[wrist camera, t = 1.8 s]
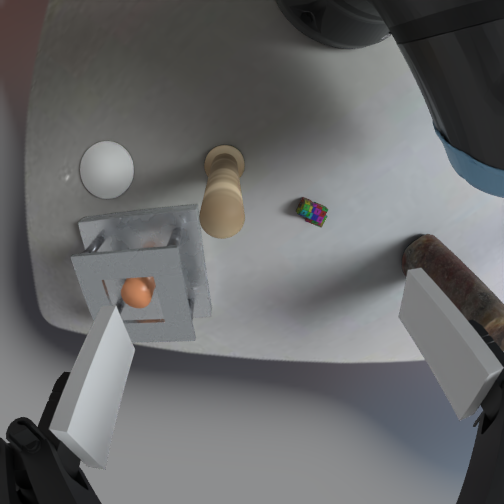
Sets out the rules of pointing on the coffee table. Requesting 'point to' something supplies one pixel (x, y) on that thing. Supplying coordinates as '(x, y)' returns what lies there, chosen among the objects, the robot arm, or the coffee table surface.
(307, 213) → the multicolour small angular block
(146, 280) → the breaker button
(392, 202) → the coffee table surface
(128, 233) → the grey square frame
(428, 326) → the robot arm
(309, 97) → the coffee table surface
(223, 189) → the turned wooden spindle
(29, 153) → the coffee table surface
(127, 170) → the coaster
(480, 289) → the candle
